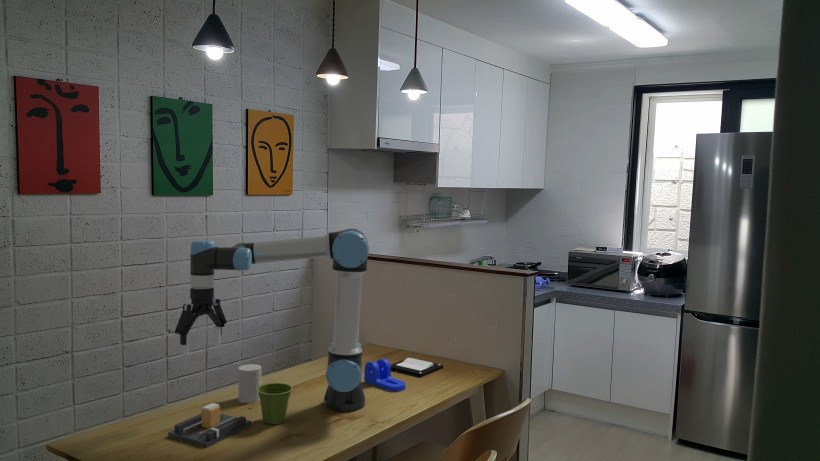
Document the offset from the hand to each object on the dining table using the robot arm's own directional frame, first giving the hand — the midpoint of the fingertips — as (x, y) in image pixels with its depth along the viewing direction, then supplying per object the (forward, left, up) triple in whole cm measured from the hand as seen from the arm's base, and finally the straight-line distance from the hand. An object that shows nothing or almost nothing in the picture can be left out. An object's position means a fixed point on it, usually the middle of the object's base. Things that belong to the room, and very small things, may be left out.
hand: (201, 349), depth 206 cm
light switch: (-37, -89, -24) cm, 99 cm away
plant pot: (-22, -11, -24) cm, 34 cm away
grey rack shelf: (-10, +6, -22) cm, 25 cm away
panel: (-10, +6, -24) cm, 26 cm away
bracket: (-37, -63, -24) cm, 77 cm away
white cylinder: (-1, -23, -24) cm, 33 cm away
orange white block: (-10, +6, -22) cm, 25 cm away
